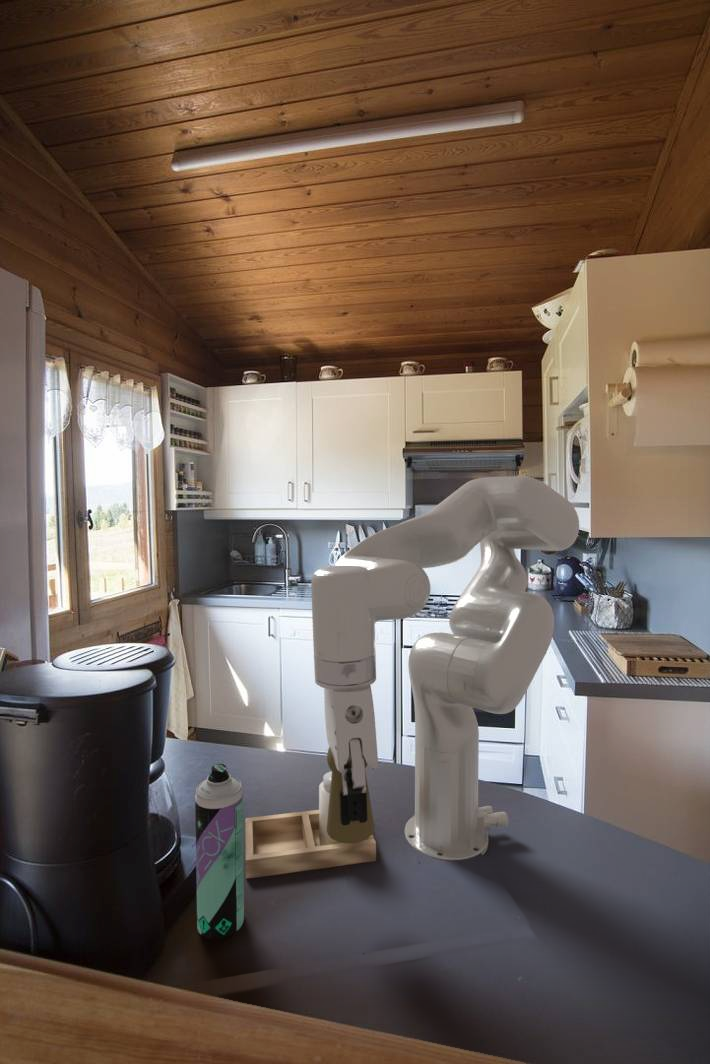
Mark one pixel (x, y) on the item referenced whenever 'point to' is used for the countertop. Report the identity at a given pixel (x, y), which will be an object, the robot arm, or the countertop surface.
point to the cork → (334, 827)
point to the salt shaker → (324, 810)
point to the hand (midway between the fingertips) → (350, 809)
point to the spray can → (219, 854)
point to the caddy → (297, 846)
